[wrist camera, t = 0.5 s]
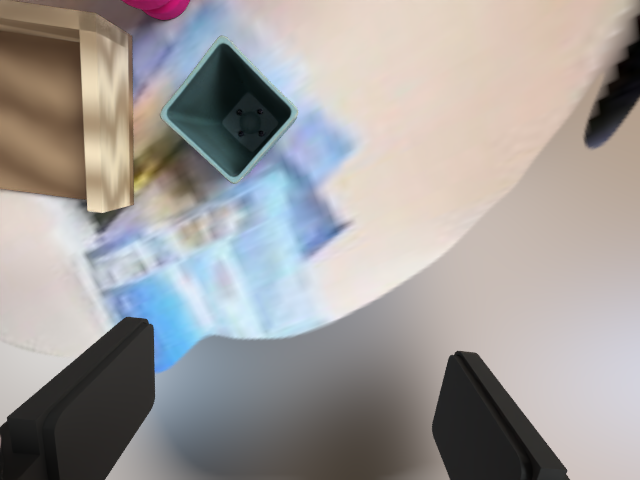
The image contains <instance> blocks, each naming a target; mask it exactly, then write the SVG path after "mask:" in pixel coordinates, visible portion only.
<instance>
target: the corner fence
mask: <svg viewBox="0 0 640 480" xmlns="http://www.w3.org/2000/svg"><path fill="white" fill-rule="evenodd" d="M0 31H6V32H13V33H20V34H26V35H33V36H40V37H47V38H54V39H61V40H67V41H74V42H80V55H81V78H82V100H83V123H84V145H85V167H86V190H87V211H91V212H99V213H104V212H108V211H111V210H115V209H119V208H123V207H126V206H130V168H129V81H128V33H127V32H125V31H123V30H122V29H120V28H119V27H117V26H115V25H114V24H112V23H111V22H109V21H108V20H106V19H104V18H103V17H101V16H100V15H98V14H96V13H92V12H85V11H78V10H72V9H65V8H58V7H52V6H45V5H38V4H32V3H25V2H18V1H12V0H0Z"/></svg>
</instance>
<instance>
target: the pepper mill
mask: <svg viewBox="0 0 640 480" xmlns="http://www.w3.org/2000/svg"><path fill="white" fill-rule="evenodd" d="M121 1H123V2H124V3H126V4H128V5H130V6H132V7H135V8H138V9H141V10H142V11H144V12H145V13H146V14H148V15H149V16H151V17H153V18H156V19H160V20H169V19H172V18H175V17H177V16H178V15H180V14H181V13H182V12H183V11H184V10H185V9H186V7H187V5H188V4H189V1H190V0H121Z"/></svg>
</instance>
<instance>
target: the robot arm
mask: <svg viewBox="0 0 640 480" xmlns="http://www.w3.org/2000/svg"><path fill="white" fill-rule="evenodd" d="M154 400H155V372H154V328H153V325H152V324H149V322H148V320H147V319H144V318H134V317H126V318H124V319H123V320H122V321H120V322H119V323H118V324H117V325H116V326H114V327H113V328H112V329H111V330H110V331H109V332H107V333H106V334H105V335H104V336H103V337H101V338H100V339H99V340H98V341H97V342H96V343H94V344H93V345H92V346H91V347H90V348H88V349H87V350H86V351H85V352H84V353H83V354H81V355H80V356H79V357H78V358H77V359H75V360H74V361H73V362H72V363H71V364H70V365H68V366H67V367H66V368H65V369H64V370H62V371H61V372H60V373H59V374H58V375H57V376H55V377H54V378H53V379H52V380H51V381H49V382H48V383H47V384H46V385H45V386H44V387H42V388H41V389H40V390H39V391H38V392H37V393H35V394H34V395H33V396H32V397H31V398H29V399H28V400H27V401H26V402H25V403H23V404H22V405H21V406H20V407H19V408H17V409H16V410H15V411H14V412H13V413H12V414H11V415H9V416H8V417H7V422H5V423H4V424H3V425H2V426H1V427H0V480H105V479H106V477H107V476H108V474H109V473H110V471H111V470H112V468H113V466H114V465H115V464H116V462H117V460H118V459H119V457H120V456H121V454H122V453H123V451H124V450H125V448H126V447H127V445H128V444H129V442H130V441H131V439H132V438H133V436H134V435H135V433H136V432H137V430H138V429H139V427H140V426H141V424H142V423H143V421H144V420H145V418H146V417H147V415H148V414H149V412H150V410H151V409H152V406H153V404H154ZM432 432H433V436H434V439H435V442H436V444H437V447H438V450H439V452H440V455H441V457H442V459H443V462H444V465H445V467H446V470H447V472H448V475H449V478H450V480H570V479H569V478H568V476H567V475H566V473H567V469H566V468H565V467H564V465H563V464H562V463H561V461H560V460H559V459H558V458H557V456H556V455H555V454H554V452H553V451H552V450H551V448H550V447H549V446H548V445H547V443H546V442H545V441H544V440H543V438H542V437H541V436H540V434H539V433H538V432H537V430H536V429H535V428H534V426H533V425H532V424H531V423H530V421H529V420H528V419H527V417H526V416H525V415H524V413H523V412H522V411H521V410H520V408H519V407H518V406H517V404H516V403H515V402H514V400H513V399H512V398H511V397H510V395H509V394H508V393H507V391H506V390H505V389H504V388H503V386H502V385H501V384H500V382H499V381H498V380H497V379H496V377H495V376H494V375H493V373H492V372H491V371H490V369H489V368H488V367H487V365H486V364H485V363H484V362H483V360H482V359H481V358H480V356H479V355H478V354H477V353H473V352H464V351H457V352H455V354H454V355H451V356H450V357H449V359H448V363H447V367H446V371H445V375H444V379H443V383H442V387H441V391H440V395H439V399H438V403H437V407H436V411H435V416H434V420H433V424H432Z"/></svg>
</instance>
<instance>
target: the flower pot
mask: <svg viewBox="0 0 640 480" xmlns="http://www.w3.org/2000/svg"><path fill="white" fill-rule="evenodd" d="M238 110H241V111H242V114H241V115H239V114H238ZM258 110H262V111H263V113H262V114H259V113H258ZM297 115H298V109H297V108H296V107H295V106H294V104H293V103H292V102H290V101H289V100H288V99H287V98H286V97H285V96H284V95H283V94H282V93H281V92H280V91H279V90H278V89H277V88H276V87H275V86H274V85H273V84H272V83H271V82H270V81H269V80H268V79H267V78H266V77H265V76H264V75H263V74H262V73H261V72H260V71H259V70H258V69H257V68H256V67H255V66H254V65H253V64H252V63H251V62H250V61H249V60H248V59H247V58H246V57H245V56H244V55H243V54H242V52H241V51H240V50H239V49H238V48H237V47H236V46H235V45H234V44H233V43H232V42H231V41H230V40H229V39H228V38H227V37H225V36H219V37H218V38H217V40H216V41H215V42H214V43H213V44H212V46H211V47H210V49H209V50H208V51H207V53H206V54H205V55H204V56H203V58H202V59H201V61H200V62H199V63H198V64H197V66H196V67H195V68H194V70H193V71H192V72H191V73H190V75H189V76H188V78H187V79H186V80H185V81H184V83H183V84H182V85H181V86H180V88H179V89H178V90H177V91H176V93H175V94H174V95H173V96H172V98H171V99H170V100H169V101H168V102H167V103H166V105H165V106H164V107H163V109H162V111H161V113H160V116H161V118H162V120H163V121H164V122H165V123H166V124H167V125H169V126H170V127H171V128H172V129H173V130H174V131H175V132H177V133H178V135H180V136H181V137H182V138H183V139H184V140H185V141H186V142H187V143H188V144H190V145H191V146H192V147H193V148H194V149H195V150H196V151H197V152H198V153H199V154H200V155H201V156H203V157H204V158H205V159H206V160H207V161H208V162H209V163H210V164H211V165H212V166H213V167H214V168H215V169H217V170H218V171H219V172H220V173H221V174H222V175H223V176H224V177H225V178H226V179H227V180H228V181H230V182H231V183H233V184H236V183H238V182H239V181H240V180H242V179H243V178H244V177H245V176H246V175H247V174H249V173H250V171H251V170H252V169H253V168H254V167H255V166H256V165H257V163H258V162H259V161H260V160H261V159H262V158H263V157H264V156H265V154H266V153H267V152H268V151H269V150H270V149H271V148H272V147H273V146H274V144H275V143H276V142H277V141H278V140H279V139H280V138H281V137H282V135H283V134H284V133H285V132H286V131H287V130H288V129H289V128H290V127H291V126H292V124H293V123H294V122H295V120H296V118H297ZM260 131H263V132H264V135H263V136H260V135H259V132H260ZM240 132H243V133H244V135H243V136H240V135H239V133H240Z"/></svg>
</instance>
